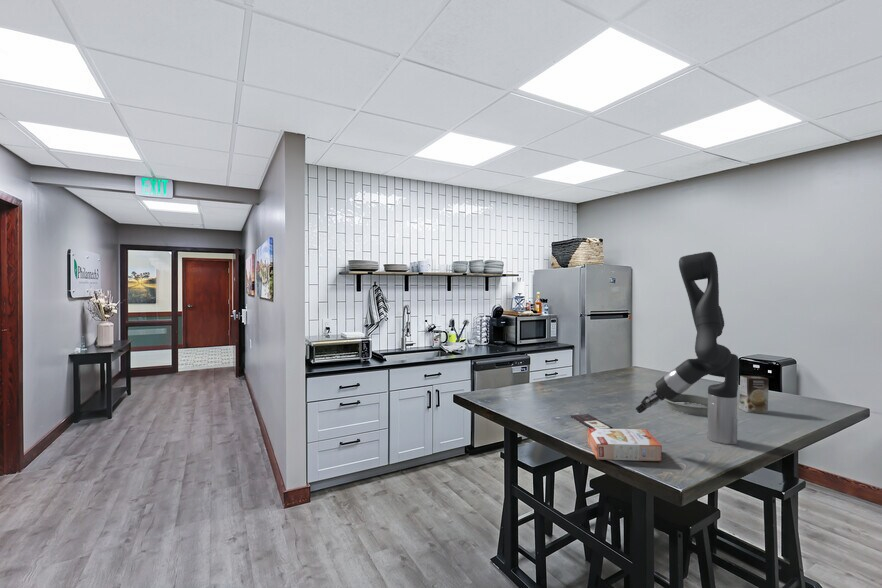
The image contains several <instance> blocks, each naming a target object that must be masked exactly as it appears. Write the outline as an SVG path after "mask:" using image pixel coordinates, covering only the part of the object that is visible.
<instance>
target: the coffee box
mask: <svg viewBox="0 0 882 588" xmlns="http://www.w3.org/2000/svg"><path fill="white" fill-rule="evenodd" d="M739 377H740V378H739V400H738V401H739V406H738V408H739V410H742V411H743V412H746V413H754V414H755V413H757V414H768V413H769V412H768V411H769V384H770V383H769V381H770V380H769V378H767V377H764V376H760V375H739Z"/></svg>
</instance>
